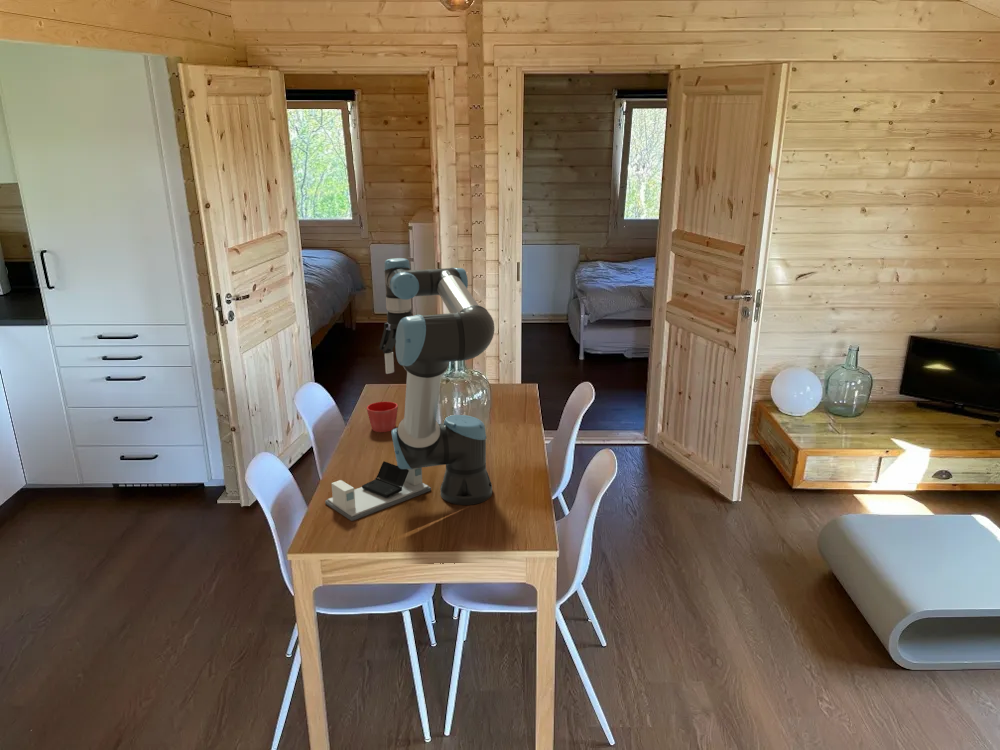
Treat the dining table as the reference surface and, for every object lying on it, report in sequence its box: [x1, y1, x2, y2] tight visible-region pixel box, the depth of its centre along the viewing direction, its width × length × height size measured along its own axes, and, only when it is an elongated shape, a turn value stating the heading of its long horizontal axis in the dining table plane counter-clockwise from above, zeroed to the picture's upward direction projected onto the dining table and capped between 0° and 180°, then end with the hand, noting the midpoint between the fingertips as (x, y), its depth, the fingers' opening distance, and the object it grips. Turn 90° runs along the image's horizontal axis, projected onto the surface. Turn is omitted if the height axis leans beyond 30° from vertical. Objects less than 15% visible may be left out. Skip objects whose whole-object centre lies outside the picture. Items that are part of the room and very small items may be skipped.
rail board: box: [324, 467, 432, 522], centre depth 208 cm, size 14×27×8 cm, turn 133°
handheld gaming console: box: [361, 461, 409, 498], centre depth 211 cm, size 11×10×4 cm
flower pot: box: [366, 401, 399, 433], centre depth 257 cm, size 11×11×10 cm
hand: (402, 377), depth 224 cm, fingers open, 13 cm apart
